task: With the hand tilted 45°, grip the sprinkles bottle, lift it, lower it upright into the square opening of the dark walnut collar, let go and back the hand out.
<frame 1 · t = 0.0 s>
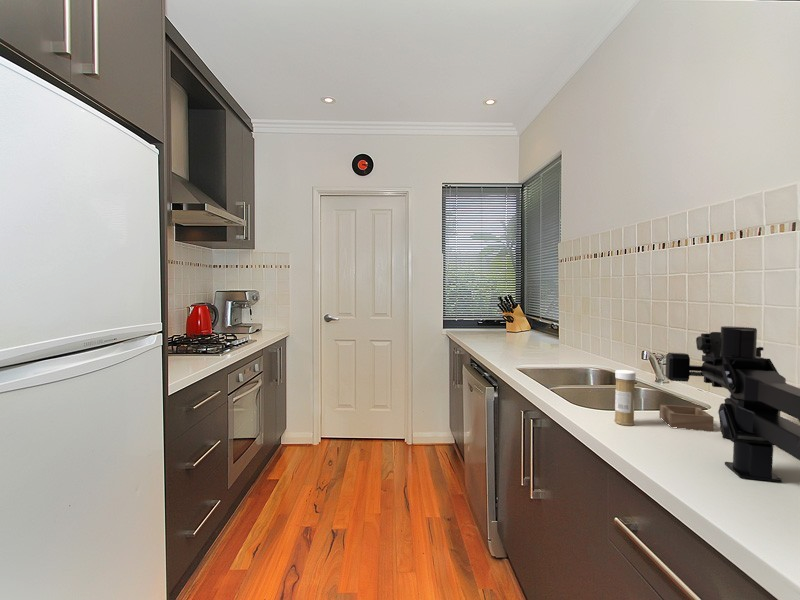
hand: (698, 362, 105), 17 cm above the countertop, tool horizontal, fingers open, 9 cm apart
travel mug: (743, 424, 111), on the countertop
sprinkles bottle: (623, 424, 110), on the countertop
walnut collar: (684, 424, 110), on the countertop
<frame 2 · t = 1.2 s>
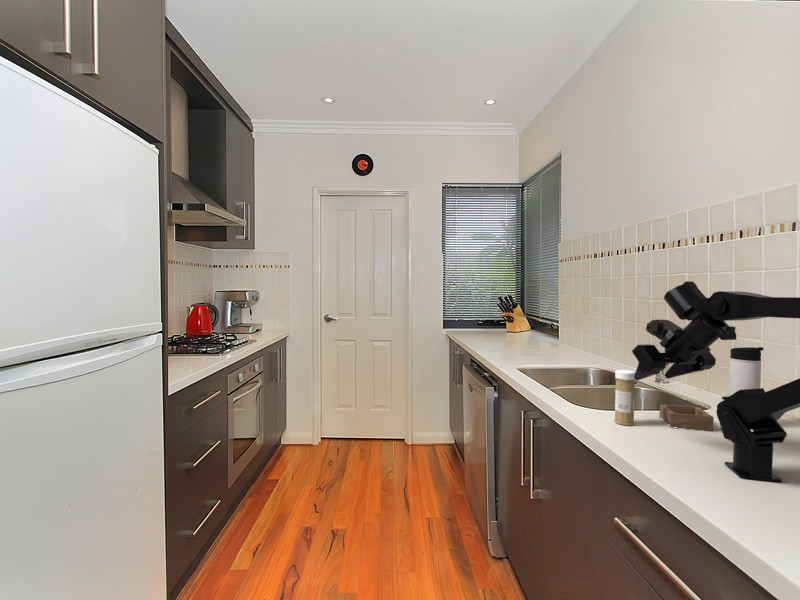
hand: (651, 377, 102), 13 cm above the countertop, tool tilted 45°, fingers open, 9 cm apart
nothing on the countertop moved.
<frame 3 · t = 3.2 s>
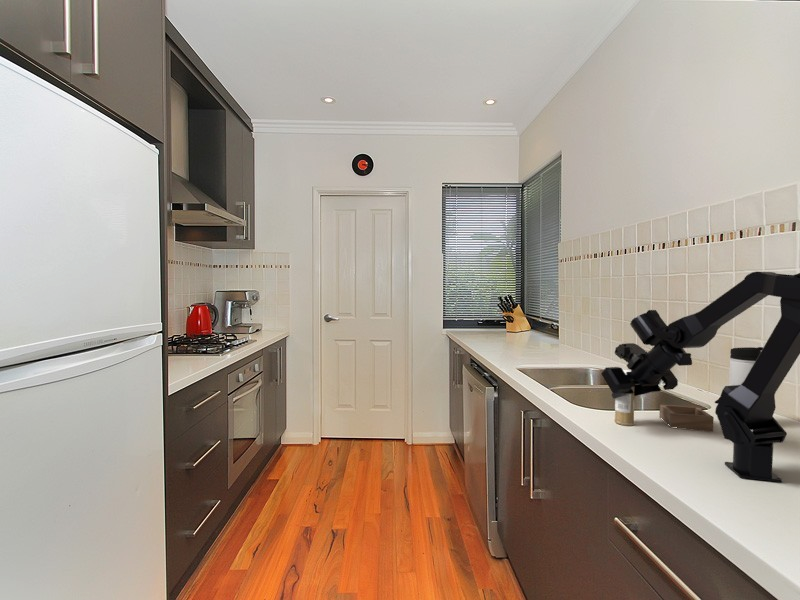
hand: (620, 396, 111), 7 cm above the countertop, tool tilted 45°, fingers closed on sprinkles bottle, 4 cm apart
sprinkles bottle: (623, 424, 110), on the countertop, touching gripper
everything else where it was.
when the fingers open (8 cm above the countertop, at t = 7.5 s): sprinkles bottle drops 1 cm, resting in walnut collar.
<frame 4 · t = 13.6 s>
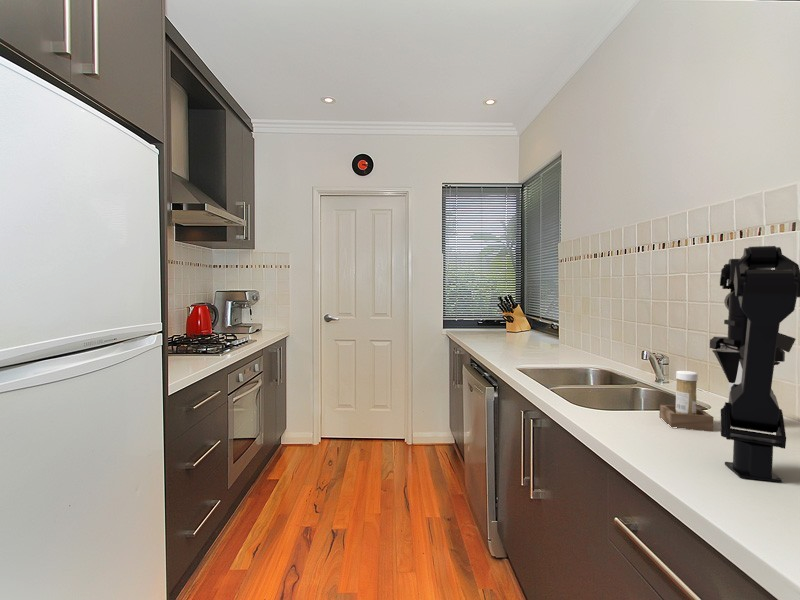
hand: (742, 387, 94), 13 cm above the countertop, tool pointing down, fingers open, 9 cm apart
sprinkles bottle: (685, 425, 110), resting in walnut collar
everything else where it was.
at the end: sprinkles bottle 0.2 cm off-centre on the walnut collar, point 0.0 cm above the walnut collar's base; sprinkles bottle tilted 0°; the gripper is holding nothing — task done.
